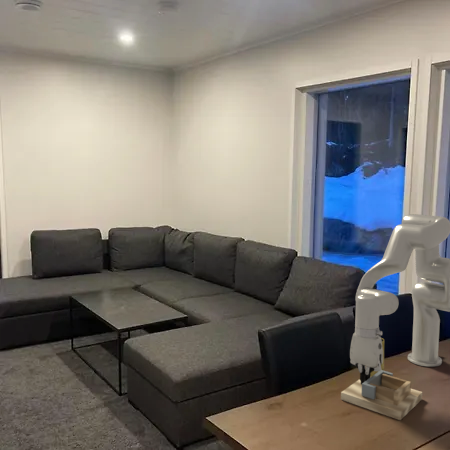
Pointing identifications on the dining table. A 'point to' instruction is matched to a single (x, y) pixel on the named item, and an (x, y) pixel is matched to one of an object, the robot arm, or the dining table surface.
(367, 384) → the grey bracket
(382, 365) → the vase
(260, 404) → the dining table surface
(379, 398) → the board
